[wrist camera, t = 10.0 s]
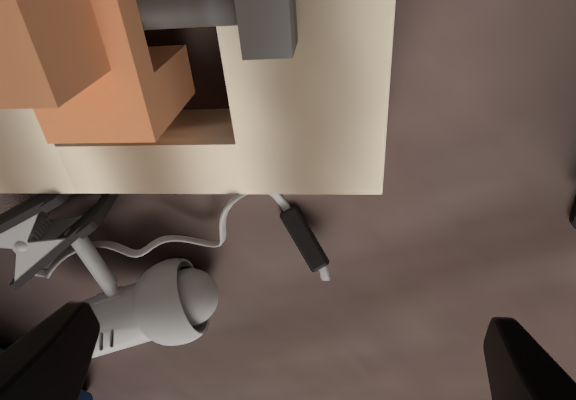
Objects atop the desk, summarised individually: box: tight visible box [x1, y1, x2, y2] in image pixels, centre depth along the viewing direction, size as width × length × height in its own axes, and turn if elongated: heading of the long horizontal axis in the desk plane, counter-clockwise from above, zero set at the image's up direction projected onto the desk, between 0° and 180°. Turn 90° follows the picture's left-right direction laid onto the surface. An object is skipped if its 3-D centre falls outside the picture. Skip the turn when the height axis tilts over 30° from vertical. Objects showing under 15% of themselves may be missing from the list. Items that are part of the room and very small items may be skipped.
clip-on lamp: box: [0, 193, 330, 358], centre depth 24 cm, size 12×6×18 cm
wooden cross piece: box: [0, 0, 195, 144], centre depth 13 cm, size 4×8×8 cm, turn 4°
